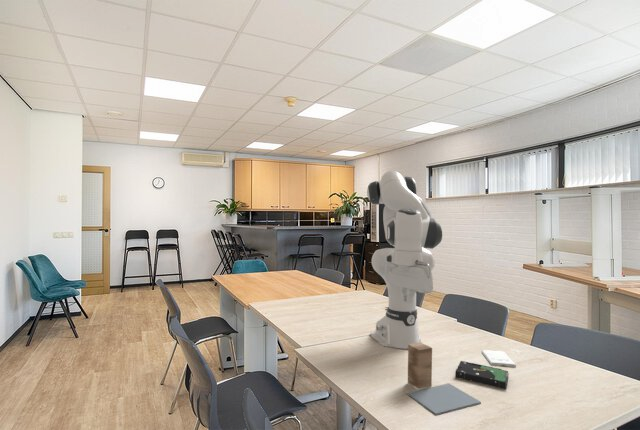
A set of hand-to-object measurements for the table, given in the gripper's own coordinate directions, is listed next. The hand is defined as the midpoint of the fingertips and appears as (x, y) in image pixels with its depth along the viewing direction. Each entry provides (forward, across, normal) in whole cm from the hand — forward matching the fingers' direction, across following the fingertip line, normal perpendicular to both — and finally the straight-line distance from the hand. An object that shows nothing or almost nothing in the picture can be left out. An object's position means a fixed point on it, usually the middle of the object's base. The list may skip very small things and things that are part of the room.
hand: (407, 301), depth 115 cm
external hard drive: (+25, 0, -41) cm, 48 cm away
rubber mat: (+24, -16, -1) cm, 29 cm away
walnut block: (+24, -6, 0) cm, 25 cm away
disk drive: (+25, -9, -23) cm, 35 cm away
